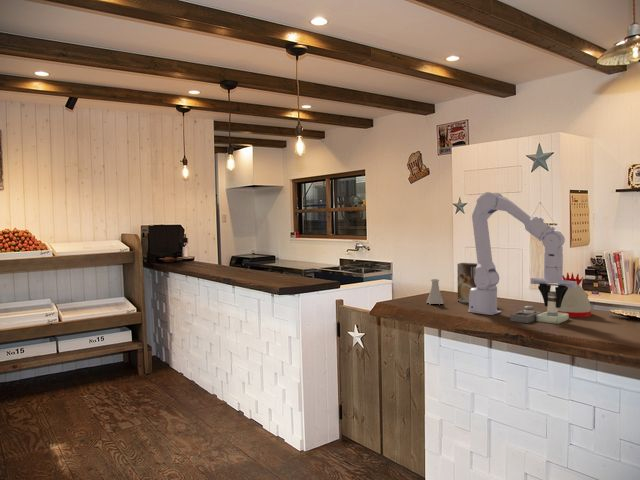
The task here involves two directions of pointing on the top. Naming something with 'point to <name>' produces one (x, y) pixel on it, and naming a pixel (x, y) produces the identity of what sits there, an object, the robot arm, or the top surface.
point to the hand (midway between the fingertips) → (552, 306)
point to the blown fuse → (551, 304)
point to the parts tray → (552, 318)
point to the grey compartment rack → (525, 315)
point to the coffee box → (465, 280)
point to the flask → (435, 293)
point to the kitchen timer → (575, 300)
